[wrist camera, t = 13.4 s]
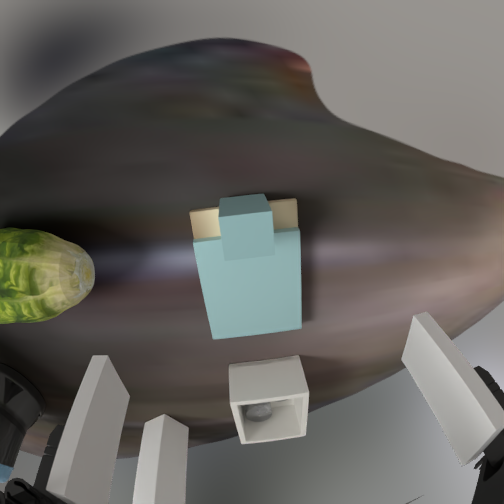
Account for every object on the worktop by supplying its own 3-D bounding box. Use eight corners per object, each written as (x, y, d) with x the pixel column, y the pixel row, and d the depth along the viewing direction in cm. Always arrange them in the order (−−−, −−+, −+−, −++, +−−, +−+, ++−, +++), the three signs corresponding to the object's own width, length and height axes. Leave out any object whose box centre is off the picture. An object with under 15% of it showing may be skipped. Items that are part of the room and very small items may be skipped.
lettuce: (117, 292, 34) (86, 354, 24) (5, 292, 33) (-34, 337, 23) (98, 202, 30) (46, 243, 19) (-18, 220, 28) (-69, 255, 18)
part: (244, 407, 44) (245, 422, 41) (245, 393, 42) (246, 408, 40) (268, 406, 44) (270, 421, 42) (271, 392, 43) (273, 407, 40)
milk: (144, 422, 46) (128, 525, 26) (164, 413, 45) (151, 526, 25) (169, 435, 49) (160, 534, 29) (190, 427, 47) (184, 534, 27)
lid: (213, 334, 37) (212, 368, 31) (187, 202, 30) (178, 222, 24) (299, 323, 37) (310, 356, 32) (295, 190, 30) (311, 207, 25)
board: (212, 324, 37) (212, 328, 36) (190, 210, 31) (189, 212, 30) (298, 314, 38) (300, 317, 37) (295, 198, 31) (296, 200, 30)
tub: (239, 410, 46) (241, 444, 39) (228, 364, 40) (229, 402, 34) (298, 402, 46) (305, 435, 40) (298, 355, 41) (309, 392, 34)
